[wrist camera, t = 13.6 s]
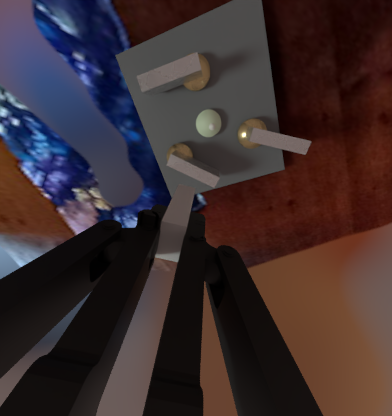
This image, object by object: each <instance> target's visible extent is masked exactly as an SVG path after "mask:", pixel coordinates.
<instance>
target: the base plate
mask: <svg viewBox="0 0 392 416" xmlns="http://www.w3.org/2000/svg"><path fill="white" fill-rule="evenodd" d="M196 52H197V53H199V54H201V55H203V56H204V57H205V58H206V59H207V61H208V63H209V66H210V79H209V82H208V84H207V85H206V86H205V87H204V88H203V89H202V90H200V91H190V90H188V89H187V88H186V87H185V86H184V85H180V86H177V87H175V88H172V89H169V90H167V91H164V92H161V93H159V94H156V95H153V96H150V95H148V94H145V93H143V92H142V91H141V88H140V85H139V82H138V79H137V77H136V76H138V75H141V74H143V73H146V72H148V71H151V70H153V69H156V68H158V67H161V66H163V65H166V64H168V63H171V62H173V61H176V60H178V59H181V58H183V57H186V56H187V55H188V54H191V53H196ZM115 56H116V58H117V61H118V63H119V66H120V68H121V71H122V73H123V76H124V79H125V81H126V84H127V86H128V89H129V91H130V94H131V96H132V99H133V101H134V104H135V106H136V109H137V111H138V114H139V116H140V119H141V121H142V124H143V126H144V129H145V132H146V134H147V137H148V139H149V142H150V144H151V147H152V149H153V152H154V154H155V157H156V159H157V162H158V164H159V167H160V169H161V172H162V174H163V177H164V179H165V182H166V184H167V187H168V190H169V192H170V195H171V197H172V198H173V196H174V194H175V191H176V189H177V187H178V185H179V184H181V185H185V186H189V187H193V188H195V193H194V194H197V193H201V192H204V191H208V190H212V189H215V188H219V187H222V186H226V185H230V184H233V183H237V182H241V181H244V180H248V179H251V178H255V177H259V176H262V175H266V174H270V173H273V172H277V171H280V170H284V169H285V168H284V161H283V154H282V149H279V148H275V147H271V146H266V145H262V144H261V145H260V146H258V147H256V148H253V149H249V148H245V147H244V146H242V145H241V144H240V143H239V141H238V138H237V132H238V128H239V126H240V125H241V124H242V123H243V122H244V121H245V120H248V119H252V118H255V119H259V120H261V121H262V122H264V124H265V125H266V128H267V131H271V132H275V133H279V134H280V132H279V124H278V117H277V110H276V102H275V95H274V88H273V80H272V73H271V66H270V58H269V51H268V44H267V36H266V29H265V21H264V14H263V7H262V0H233V1H231V2H229V3H227V4H224V5H222V6H220V7H218V8H216V9H214V10H212V11H210V12H207V13H205V14H203V15H201V16H199V17H197V18H195V19H192V20H190V21H188V22H186V23H184V24H182V25H180V26H177V27H175V28H173V29H171V30H169V31H167V32H165V33H162V34H160V35H158V36H156V37H154V38H152V39H150V40H148V41H145V42H143V43H141V44H139V45H137V46H135V47H133V48H130V49H128V50H126V51H124V52H122V53H120V54H118V55H115ZM176 143H184V144H186V145H188V146H189V147H190V148H191V150H192V152H193V158H194V159H196V160H198V161H200V162H202V163H204V164H206V165H208V166H211V167H213V168H215V169H217V170H219V174H220V179H219V180H218V182H217V184H216V186H215V188H213V187H211V186H209V185H207V184H205V183H203V182H201V181H199V180H196V179H194V178H192V177H190V176H188V175H186V174H184V173H182V172H180V171H177V170H175V169H173V168H171V167H169V166H167V163H168V161H167V152H168V150H169V148H170V147H171V146H173V145H174V144H176Z"/></svg>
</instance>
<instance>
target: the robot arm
mask: <svg viewBox="0 0 392 416" xmlns="http://www.w3.org/2000/svg"><path fill="white" fill-rule="evenodd" d="M194 193H195V188H193V187H189V186H185V185H181V184H179V185H178V187H177V189H176V191H175V194H174V196H173V198H172V200H171V202H170V204H169V206H168V207H166V206H162V205H158V204H157V205H155V206H153V207H152V209H151V210H149V209H148V210H142V211H140V212H138V220H137V225H136V227H135V228H122V225H121V223H120V222H118V221H115V220H103V221H101V222H98V223H97V224H95V225H93V226H92V227H90V228H88V229H86V230H85V231H83V232H81V233H79V234H78V235H76V236H74V237H73V238H71V239H69V240H67V241H66V242H64V243H62V244H61V245H59V246H57V247H55V248H54V249H52V250H50V251H48V252H47V253H45V254H43V255H42V256H40V257H38V258H36V259H35V260H33V261H31V262H29V263H28V264H26V265H24V266H23V267H21V268H19V269H17V270H16V271H14V272H12V273H10V274H9V275H7V276H6V277H4V278H2V279H0V378H1V377H2V376H3V375H4V374H6V373H7V372H8V371H9V370H10V369H11V368H12V367H13V366H14V365H15V364H16V363H17V362H18V361H19V360H20V359H21V358H22V357H23V356H24V355H25V354H26V353H27V352H28V351H29V350H31V349H32V348H33V347H34V346H35V345H36V344H37V343H38V342H39V341H40V340H41V339H42V338H43V337H44V336H45V335H46V334H47V333H48V332H49V331H50V330H51V329H52V328H53V327H54V326H56V325H57V324H58V323H59V322H60V321H61V320H62V319H63V318H64V317H65V316H66V315H67V314H68V313H69V312H70V311H71V310H72V309H73V308H74V307H75V306H76V305H77V304H78V303H79V302H80V301H81V300H83V299H84V298H85V297H86V296H87V295H88V294H89V293H90V292H91V291H92V292H91V293H90V295H89V296H88V298H87V299H86V301H85V302H84V304H83V305H82V307H81V308H80V310H79V311H78V313H77V314H76V316H75V317H74V319H73V320H72V322H71V323H70V325H69V326H68V327H67V329H66V331H65V332H64V333H63V335H62V336H61V338H60V339H59V341H58V342H57V344H56V345H55V347H54V348H53V349H52V350H51V352H50V353H48V354H47V355H44V356H42V357H39V358H38V359H37V360H36V361H35V362H34V363H33V364H32V365H31V366H30V367H29V369H28V370H27V371H26V372H25V374H24V375H23V376H22V378H21V379H20V381H19V382H18V383H17V385H16V386H15V388H14V389H13V390H12V392H11V393H10V394H9V396H8V397H7V399H6V400H5V401H4V403H3V404H2V405H1V407H0V416H96V413H97V409H98V406H99V402H100V400H101V397H102V394H103V392H104V389H105V387H106V384H107V381H108V379H109V376H110V374H111V371H112V369H113V366H114V363H115V361H116V358H117V356H118V353H119V351H120V348H121V345H122V343H123V340H124V337H125V335H126V333H127V330H128V327H129V325H130V322H131V320H132V317H133V314H134V312H135V309H136V307H137V304H138V301H139V299H140V296H141V294H142V291H143V289H144V286H145V283H146V281H147V278H148V276H149V273H150V271H151V268H152V266H153V263H154V257H155V254H156V257H157V258H162V259H166V260H170V261H175V262H178V264H177V268H176V272H175V277H174V281H173V286H172V290H171V295H170V298H169V303H168V307H167V311H166V316H165V320H164V324H163V329H162V333H161V337H160V342H159V346H158V350H157V355H156V359H155V363H154V368H153V372H152V377H151V381H150V385H149V389H148V394H147V398H146V402H145V407H144V411H143V415H142V416H203V391H202V388H201V386H200V362H201V340H202V339H201V338H202V318H203V295H204V281H205V282H206V288H207V292H208V296H209V300H210V304H211V308H212V312H213V316H214V320H215V324H216V328H217V332H218V337H219V340H220V345H221V349H222V353H223V356H224V361H225V365H226V369H227V373H228V377H229V381H230V385H231V389H232V393H233V397H234V401H235V405H236V409H237V413H238V416H323V414H322V413H321V411H320V409H319V407H318V405H317V403H316V401H315V399H314V397H313V395H312V393H311V391H310V389H309V387H308V385H307V384H306V382H305V380H304V378H303V376H302V374H301V372H300V370H299V368H298V366H297V364H296V362H295V361H294V358H293V357H292V355H291V353H290V351H289V349H288V347H287V345H286V343H285V341H284V339H283V337H282V335H281V333H280V332H279V330H278V328H277V326H276V324H275V322H274V320H273V318H272V316H271V314H270V312H269V310H268V309H267V307H266V305H265V303H264V301H263V299H262V297H261V295H260V293H259V291H258V289H257V288H256V285H255V284H254V282H253V280H252V278H251V276H250V274H249V272H248V270H247V268H246V266H245V264H244V262H243V260H242V258H241V257H240V255H239V253H238V252H237V250H235V249H234V248H232V247H230V246H226V245H221V246H219V247H218V248H217V249H216V248H214V247H212V246H210V245H209V244H208V243H207V242H206V238H205V237H204V236H205V217H204V215H203V214H198V213H194V212H190V211H191V207H192V202H193V197H194Z"/></svg>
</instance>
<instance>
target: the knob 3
mask: <svg viewBox="0 0 392 416" xmlns="http://www.w3.org/2000/svg"><path fill="white" fill-rule="evenodd" d="M237 138H238V141H239V143H240V144H241V145H242V146H244V147H245V148H249V149H253V148H256V147H258V146H260V145H261V144H262V145H266V146H271V147H275V148H279V149H283V150H288V151H292V152H296V153H300V154H304V155H306V152H307V150H308V148H309V146H310V144H311V141H308V140H304V139H300V138H296V137H291V136H287V135H283V134H279V133H275V132H271V131H267V128H266V125H265V124H264V122H262V121H261V120H259V119H255V118H252V119H248V120H245V121H244V122H243V123H242V124H241V125H240V126H239V128H238V132H237Z"/></svg>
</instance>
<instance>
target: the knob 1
mask: <svg viewBox="0 0 392 416" xmlns="http://www.w3.org/2000/svg"><path fill="white" fill-rule="evenodd" d="M136 77H137V79H138V82H139V85H140V88H141V91H142V92H143V93H145V94H148V95H150V96H153V95H156V94H159V93H161V92H164V91H167V90H169V89H172V88H175V87H177V86H180V85H184V86H185V87H186V88H187V89H188V90H190V91H200V90H202V89H203V88H204V87H205V86H206V85H207V84H208V82H209V79H210V66H209V63H208V61H207V59H206V58H205V57H204V56H203V55H201V54H199V53H197V52H196V53H191V54H188V55H187V56H186V57H183V58H181V59H178V60H176V61H173V62H171V63H168V64H166V65H163V66H161V67H158V68H156V69H153V70H151V71H148V72H146V73H143V74H141V75H138V76H136Z"/></svg>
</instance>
